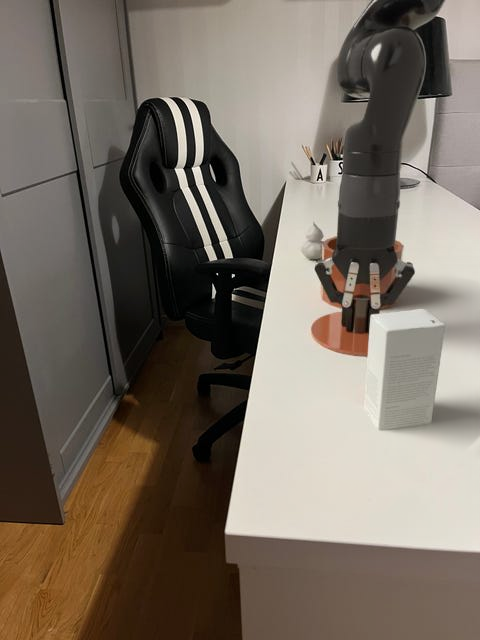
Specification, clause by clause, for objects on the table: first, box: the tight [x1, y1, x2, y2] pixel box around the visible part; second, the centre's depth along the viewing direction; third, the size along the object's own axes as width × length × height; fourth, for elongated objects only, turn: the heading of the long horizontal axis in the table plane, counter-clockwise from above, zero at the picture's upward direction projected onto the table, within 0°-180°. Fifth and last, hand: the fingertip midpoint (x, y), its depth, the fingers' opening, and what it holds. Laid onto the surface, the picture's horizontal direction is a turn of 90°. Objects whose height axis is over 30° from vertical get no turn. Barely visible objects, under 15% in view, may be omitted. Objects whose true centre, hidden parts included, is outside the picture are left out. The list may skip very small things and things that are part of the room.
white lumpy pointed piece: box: [300, 221, 325, 260], centre depth 104 cm, size 5×7×8 cm
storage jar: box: [319, 235, 405, 311], centre depth 83 cm, size 13×13×10 cm
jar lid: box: [310, 295, 370, 357], centre depth 71 cm, size 14×14×6 cm
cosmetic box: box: [363, 308, 446, 431], centre depth 51 cm, size 6×4×12 cm
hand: (358, 328), depth 71 cm, fingers closed on jar lid, 2 cm apart
